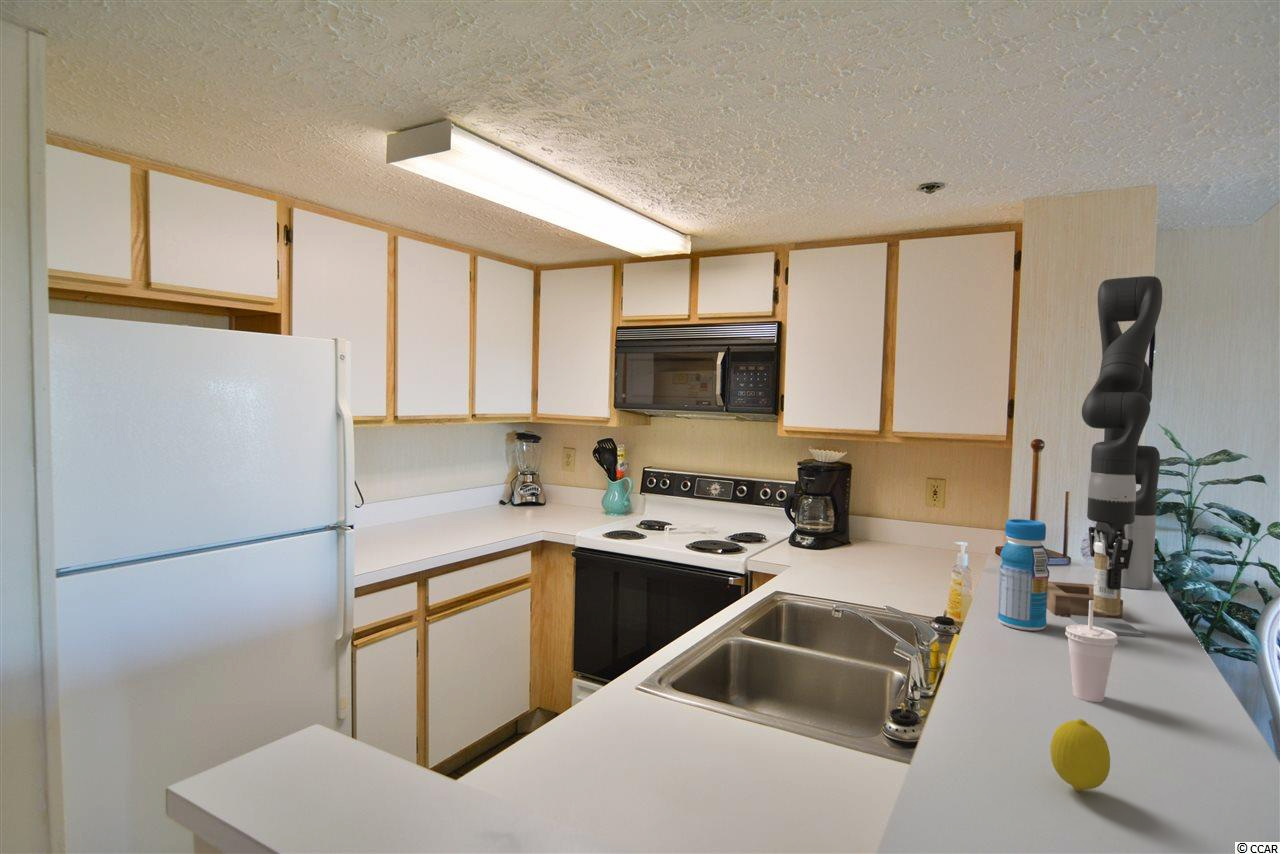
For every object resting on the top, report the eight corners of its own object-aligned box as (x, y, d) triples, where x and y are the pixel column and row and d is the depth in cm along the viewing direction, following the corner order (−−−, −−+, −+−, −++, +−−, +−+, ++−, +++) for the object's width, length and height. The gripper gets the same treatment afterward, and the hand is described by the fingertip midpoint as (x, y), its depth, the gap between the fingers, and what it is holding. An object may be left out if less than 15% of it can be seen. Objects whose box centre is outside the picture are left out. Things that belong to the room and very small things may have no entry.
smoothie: (1107, 691, 103) (1111, 598, 102) (1121, 709, 97) (1126, 610, 96) (1057, 684, 105) (1061, 593, 104) (1068, 702, 99) (1073, 605, 98)
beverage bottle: (999, 628, 131) (1003, 523, 130) (994, 615, 138) (998, 516, 138) (1050, 634, 127) (1055, 527, 127) (1043, 621, 135) (1047, 520, 134)
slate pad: (1070, 617, 138) (1070, 614, 138) (1121, 621, 136) (1121, 618, 136) (1088, 632, 129) (1088, 629, 129) (1143, 637, 127) (1143, 633, 127)
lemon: (1038, 777, 78) (1040, 708, 78) (1083, 776, 79) (1086, 707, 79) (1072, 806, 73) (1075, 732, 73) (1121, 804, 73) (1124, 731, 73)
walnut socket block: (1035, 598, 151) (1036, 580, 151) (1097, 603, 148) (1097, 584, 148) (1054, 615, 139) (1055, 595, 139) (1122, 620, 137) (1123, 600, 136)
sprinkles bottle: (1124, 613, 132) (1127, 544, 131) (1113, 617, 129) (1117, 546, 129) (1098, 607, 136) (1101, 539, 135) (1087, 611, 133) (1090, 542, 132)
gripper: (1152, 503, 124) (1147, 597, 124) (1117, 493, 138) (1113, 577, 138) (1105, 501, 125) (1101, 594, 126) (1075, 491, 139) (1071, 575, 140)
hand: (1107, 585), depth 132 cm, fingers closed on sprinkles bottle, 4 cm apart
